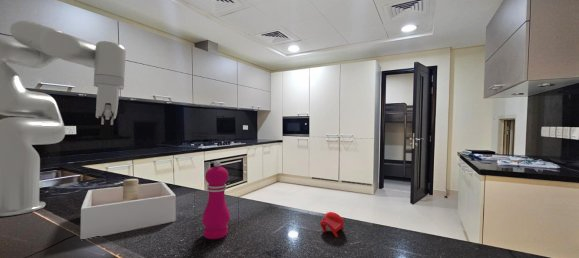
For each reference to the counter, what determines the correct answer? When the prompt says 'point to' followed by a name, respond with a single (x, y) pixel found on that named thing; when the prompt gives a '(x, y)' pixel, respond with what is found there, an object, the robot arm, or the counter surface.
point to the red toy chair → (332, 222)
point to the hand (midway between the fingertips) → (106, 137)
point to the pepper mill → (216, 203)
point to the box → (126, 210)
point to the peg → (130, 190)
